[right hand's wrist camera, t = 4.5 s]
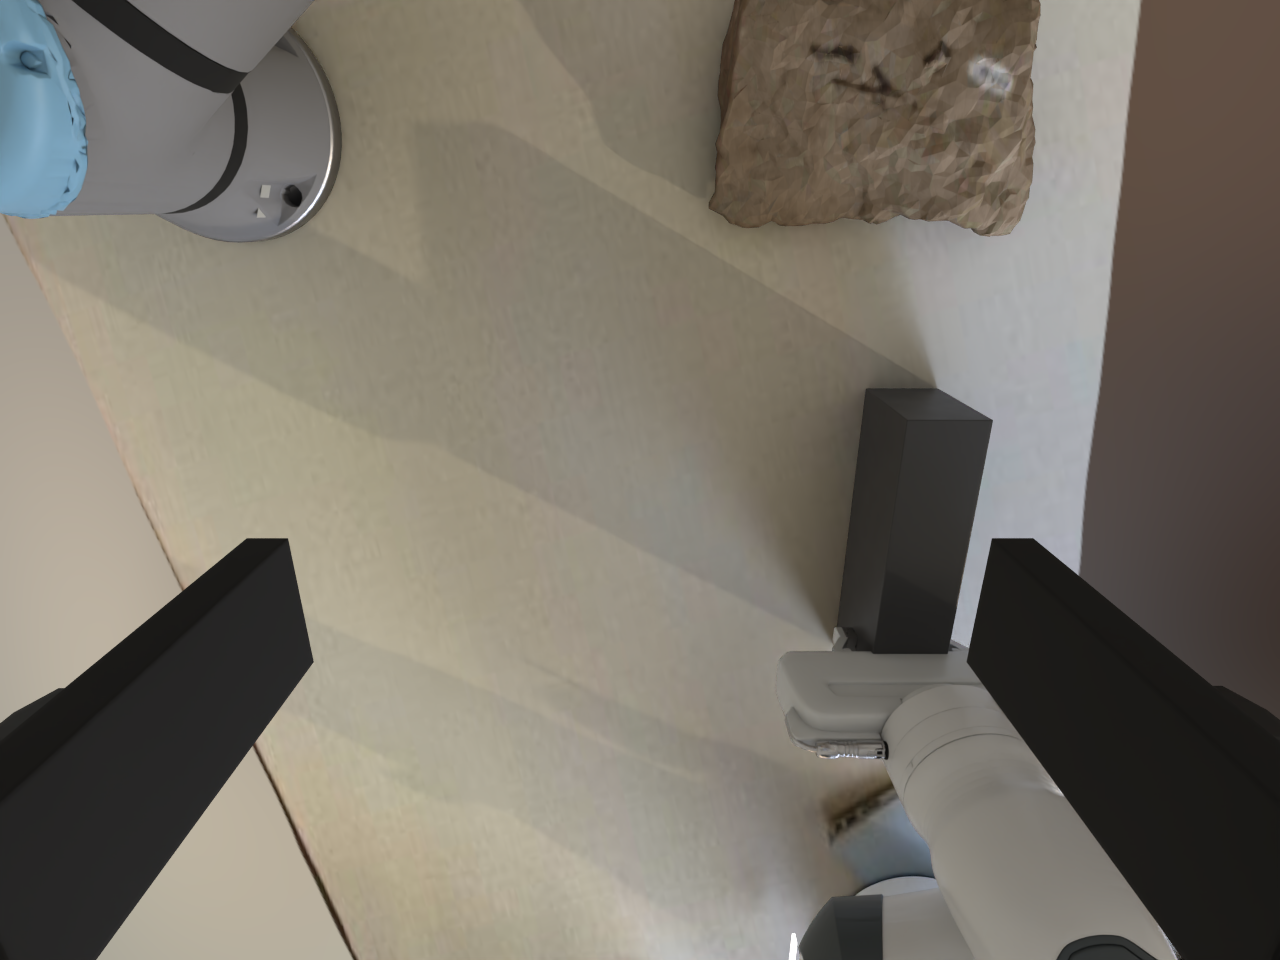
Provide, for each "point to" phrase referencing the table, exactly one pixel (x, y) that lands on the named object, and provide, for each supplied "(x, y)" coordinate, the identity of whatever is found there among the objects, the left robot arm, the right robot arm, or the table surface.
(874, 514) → the bar
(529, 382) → the table surface
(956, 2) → the stone
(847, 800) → the table surface
